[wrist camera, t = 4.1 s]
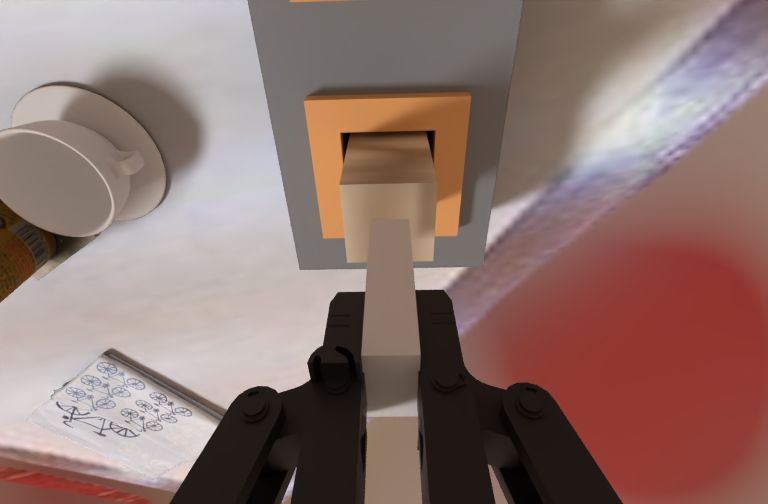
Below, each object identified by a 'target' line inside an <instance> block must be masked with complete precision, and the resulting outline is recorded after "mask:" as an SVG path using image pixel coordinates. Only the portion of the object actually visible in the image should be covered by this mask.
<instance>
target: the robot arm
mask: <svg viewBox="0 0 768 504" xmlns="http://www.w3.org/2000/svg"><path fill="white" fill-rule="evenodd" d="M307 364H308V368H309V373H310V378H311V379H310V380H309V381H308V382H306V383H305V384H303V385H301V386H299V387H297V388H294V389H291V390H287V391H284V392H281V393H277V391H276V390H274V389H272V388H270V387H268V386H257V387H254V388H250V389H247V390H246V391H244V392H243V393H241V394H240V395H238V396H237V398H236V399H235V400H234V401H233V402H232V403H231V405H230V407H229V408H228V410H227V412H226V413H225V415H224V416H223V418H222V420H221V421H220V423H219V424H218V426H217V428H216V429H215V431H214V433H213V434H212V436H211V437H210V439H209V441H208V442H207V444H206V446H205V447H204V449H203V450H202V452H201V454H200V455H199V457H198V458H197V460H196V462H195V463H194V465H193V467H192V468H191V470H190V471H189V473H188V475H187V476H186V478H185V479H184V481H183V483H182V484H181V486H180V488H179V489H178V491H177V492H176V494H175V496H174V497H173V499H172V501H171V502H170V504H281V502H282V500H283V497H284V495H285V492H286V490H287V488H288V485H289V483H290V480H291V478H292V476H293V473H294V471H295V468H296V467H297V470H296V475H295V481H294V487H293V492H292V498H291V504H364V501H365V500H364V499H365V476H366V474H365V473H366V451H367V449H366V448H367V430H366V419H367V417H380V416H418V424H419V428H418V450H419V458H420V474H421V490H422V504H495V499H494V494H493V489H492V483H491V478H490V473H489V469H488V464H489V465H491V466H492V468H493V471H494V473H495V475H496V478H497V480H498V482H499V484H500V487H501V489H502V491H503V493H504V496H505V498H506V500H507V502H508V504H623V503H622V501H621V500H620V499H619V497H618V496H617V494H616V493H615V491H614V489H613V488H612V486H611V485H610V483H609V482H608V480H607V479H606V477H605V476H604V474H603V473H602V471H601V470H600V468H599V467H598V465H597V463H596V462H595V460H594V459H593V457H592V456H591V454H590V453H589V451H588V450H587V448H586V447H585V445H584V444H583V442H582V441H581V439H580V438H579V436H578V435H577V433H576V432H575V430H574V428H573V427H572V425H571V424H570V422H569V421H568V419H567V418H566V416H565V415H564V413H563V412H562V410H561V409H560V407H559V406H558V404H557V403H556V401H555V400H554V399H553V398H552V396H551V395H550V394H549V393H548V392H547V391H546V390H544V389H542V388H541V387H539V386H537V385H534V384H530V383H516V384H513V385H511V386H509V387H508V388H507V390H504V389H501V388H497V387H494V386H489V385H487V384H485V383H482V382H480V381H479V380H477V379H475V378H474V377H473V376H472V375H471V374H470V373H469V372H468V370H467V369H466V367H465V365H464V362H463V358H462V352H461V347H460V342H459V337H458V331H457V326H456V321H455V316H454V310H453V305H452V300H451V299H450V298H449V296H448V295H447V294H446V293H445V291H444V290H415V282H414V270H413V259H412V247H411V235H410V223H409V219H370V231H369V246H368V261H367V276H366V291H365V292H338V293H337V294H336V296H335V297H334V299H333V300H332V301H331V303H330V307H329V313H328V319H327V325H326V331H325V337H324V343H323V346H321V347H319V348H317V349H316V350H315V351H314V352H313V353H312V354H311V356H310V358H309V360H308V363H307Z"/></svg>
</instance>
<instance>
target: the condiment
mask: <svg viewBox="0 0 768 504" xmlns="http://www.w3.org/2000/svg"><path fill="white" fill-rule="evenodd" d="M95 238H96V237H95V236H94V235H91V236H86V237H71V236H64V235H60V234H56V233H52V232H49V231H47V230H44V229H42V228H40V227H38V226H36V225H34V224H32V223H30V222H28V221H27V220H25V219H23V218H22V217H21V216H19V215H18V214H16V213H15V212H14V211H13V210H12V209H10V208H9V207H8V206H7V205H6V204H5V203H4V202H3V201H2V200H1V199H0V303H1V301H3V300H4V299H5V298H6V297H7V296H8V295H10V294H11V293H12V292H13V291H14V290H15V289H17V288H18V287H19V286H20V285H21V284H22V283H23V282H25V281H26V280H27V279H28V278H29V277H31V276H33V277H34V278H36V279H37V280H39V279H41V278H42V277H43V276H45V275H46V274H47V273H49V272H50V271H51V270H53V269H54V268H55V267H57V266H58V265H60V264H61V263H62V262H63V261H65V260H66V259H68V258H69V257H70V256H72V255H73V254H74V253H76V252H77V251H79V250H80V249H81V248H83V247H84V246H85V245H87V244H88V243H89V242H91V241H92V240H93V239H95ZM61 241H62V242H61Z"/></svg>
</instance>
